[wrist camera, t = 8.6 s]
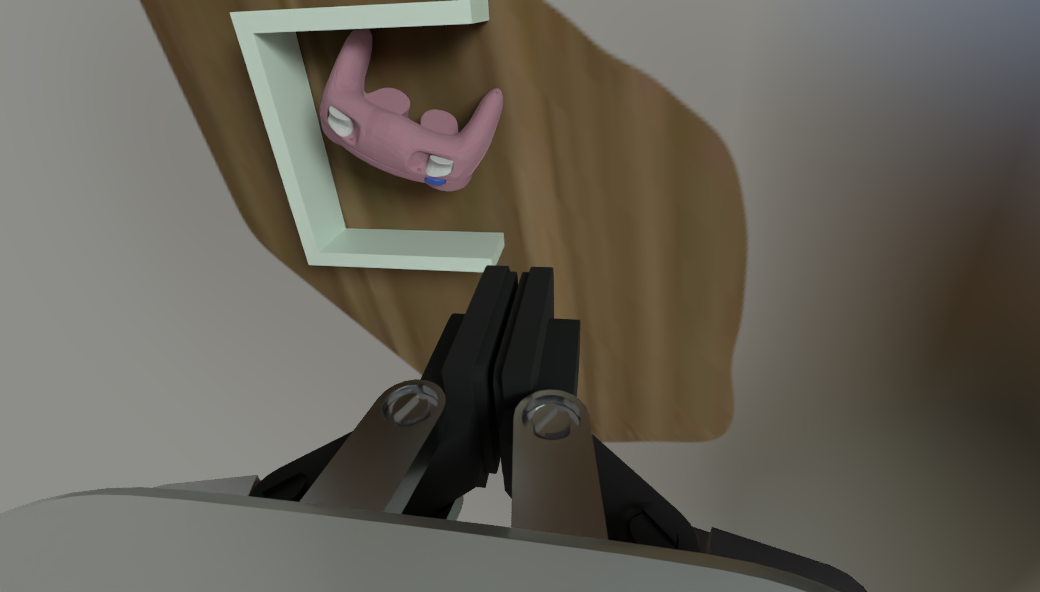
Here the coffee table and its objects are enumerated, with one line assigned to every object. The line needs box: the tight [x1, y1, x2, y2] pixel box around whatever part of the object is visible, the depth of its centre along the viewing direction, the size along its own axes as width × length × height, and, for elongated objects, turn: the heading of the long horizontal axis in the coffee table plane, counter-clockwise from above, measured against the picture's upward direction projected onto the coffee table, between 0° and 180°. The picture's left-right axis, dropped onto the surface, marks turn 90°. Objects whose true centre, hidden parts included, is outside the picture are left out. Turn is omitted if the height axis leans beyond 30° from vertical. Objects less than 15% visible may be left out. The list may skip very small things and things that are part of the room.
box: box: [230, 0, 504, 272], centre depth 30 cm, size 15×13×4 cm
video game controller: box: [320, 28, 503, 191], centre depth 28 cm, size 10×5×7 cm, turn 68°
